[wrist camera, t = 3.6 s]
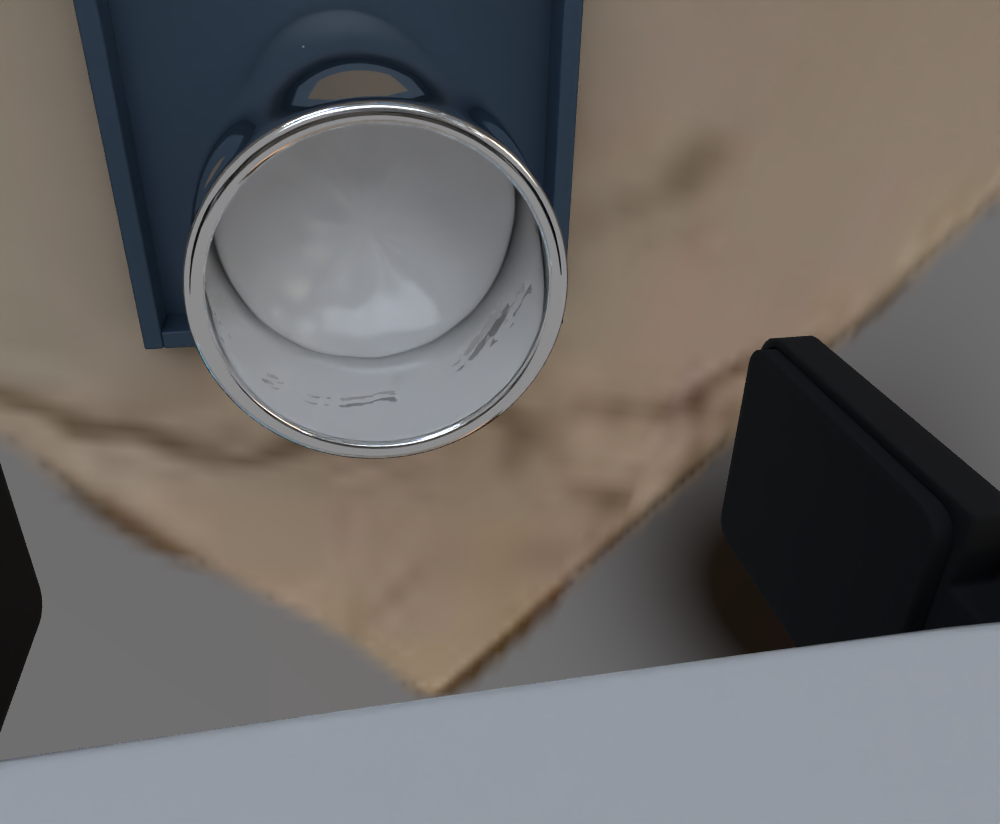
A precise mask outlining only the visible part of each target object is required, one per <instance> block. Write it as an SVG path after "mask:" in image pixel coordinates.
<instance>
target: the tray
mask: <svg viewBox="0 0 1000 824" xmlns="http://www.w3.org/2000/svg"><path fill="white" fill-rule="evenodd" d="M73 2H74V7H75V11H76V16H77V21H78V26H79V31H80V36H81V41H82V45H83V50H84V55H85V60H86V65H87V70H88V75H89V79H90V84H91V89H92V94H93V99H94V104H95V109H96V113H97V118H98V123H99V128H100V133H101V138H102V143H103V147H104V152H105V157H106V162H107V167H108V172H109V177H110V181H111V186H112V191H113V196H114V201H115V206H116V211H117V215H118V220H119V225H120V230H121V235H122V240H123V245H124V249H125V254H126V259H127V264H128V269H129V274H130V279H131V283H132V288H133V293H134V298H135V303H136V308H137V313H138V317H139V322H140V327H141V332H142V337H143V342H144V347H145V349H159V348H163V347H165V348H176V347H192V346H196V345H195V342H194V340H193V337H192V334H191V331H190V328H189V324H188V320H187V316H186V311H185V305H184V296H183V266H184V257H185V252H186V246H187V242H188V234H189V223H190V213H191V205H192V198H193V192H194V188H195V184H196V180H197V176H198V172H199V168H200V164H201V161H202V157H203V154H204V152H205V149H206V147H207V144H208V142H209V140H210V138H211V136H212V134H213V132H214V130H215V128H216V126H217V124H218V122H219V121H220V119H221V117H222V115H223V113H224V112H225V110H226V109H227V107H228V105H229V104H230V103H231V101H232V100H233V99H234V97H235V96H236V95H237V94H238V92H239V91H240V90H241V89H242V88H243V87H244V86H245V85H246V84H247V83H248V82H249V80H250V76H251V73H252V70H253V67H254V65H255V63H256V61H257V59H258V57H259V55H260V54H261V52H262V50H263V49H264V48H265V46H266V45H267V44H268V42H269V41H270V40H271V39H272V38H273V37H274V36H275V35H276V34H277V33H278V32H279V31H280V30H281V29H283V28H284V27H285V26H286V25H288V24H289V23H291V22H293V21H294V20H296V19H298V18H300V17H302V16H305V15H307V14H310V13H313V12H317V11H321V10H327V9H353V10H359V11H363V12H367V13H371V14H373V15H376V16H379V17H381V18H383V19H385V20H387V21H389V22H390V23H392V24H394V25H395V26H397V27H398V28H400V29H401V30H402V31H404V32H405V33H406V34H407V35H408V36H409V37H410V38H411V39H412V40H413V41H414V42H415V43H416V44H417V45H418V46H419V47H420V49H421V50H422V51H423V53H424V54H425V55H427V56H429V57H431V58H433V59H435V60H436V61H438V62H440V63H442V64H443V65H445V66H446V67H448V68H449V69H450V70H452V71H453V72H455V73H456V74H457V75H458V76H459V77H461V78H462V79H463V80H464V81H465V82H466V83H467V84H468V85H470V86H471V87H472V88H473V89H474V90H475V91H476V92H477V93H478V94H479V95H480V96H481V97H482V98H483V99H484V100H485V101H486V102H487V103H488V104H489V105H490V106H491V107H492V109H493V110H494V111H495V112H496V114H497V115H498V116H499V118H500V119H501V120H502V122H503V123H504V125H505V126H506V128H507V129H508V130H509V132H510V133H511V135H512V136H513V138H514V139H515V141H516V142H517V144H518V146H519V147H520V149H521V151H522V153H523V155H524V157H525V159H526V161H527V163H528V165H529V166H530V168H531V170H532V172H533V174H534V177H535V179H536V180H537V182H538V183H539V185H540V186H541V188H542V190H543V191H544V193H545V195H546V196H547V198H548V200H549V202H550V204H551V206H552V208H553V210H554V213H555V215H556V218H557V220H558V223H559V226H560V229H561V233H562V236H563V240H564V245H565V250H566V257H567V250H568V234H569V218H570V203H571V187H572V171H573V156H574V140H575V124H576V109H577V93H578V78H579V62H580V46H581V31H582V15H583V0H73ZM562 323H563V320H562Z"/></svg>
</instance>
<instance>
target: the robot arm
mask: <svg viewBox="0 0 1000 824" xmlns="http://www.w3.org/2000/svg"><path fill="white" fill-rule="evenodd" d="M721 524H722V531H723V534H724V537H725V540H726V541H727V543H728V545H729V546H730V548H731V549H732V551H733V552H734V554H735V555H736V557H737V558H738V560H739V561H740V563H741V564H742V566H743V567H744V569H745V570H746V572H747V573H748V575H749V576H750V578H751V579H752V581H753V582H754V584H755V585H756V587H757V588H758V590H759V591H760V593H761V594H762V596H763V597H764V599H765V600H766V602H767V603H768V605H769V606H770V607H771V609H772V611H773V612H774V614H775V615H776V616H777V618H778V620H779V621H780V622H781V624H782V626H783V627H784V628H785V630H786V632H787V633H788V634H789V636H790V638H791V639H792V640H793V642H794V643H795V645H796V646H797V648H789V649H782V650H774V651H767V652H759V653H752V654H744V655H737V656H730V657H722V658H715V659H708V660H701V661H693V662H686V663H679V664H672V665H665V666H657V667H650V668H643V669H636V670H628V671H621V672H614V673H606V674H599V675H592V676H585V677H578V678H570V679H563V680H557V681H549V682H542V683H534V684H528V685H521V686H514V687H506V688H499V689H492V690H485V691H478V692H471V693H463V694H456V695H449V696H442V697H435V698H428V699H421V700H414V701H407V702H400V703H394V704H386V705H380V706H372V707H365V708H358V709H351V710H345V711H337V712H331V713H323V714H316V715H309V716H302V717H295V718H288V719H281V720H274V721H266V722H260V723H253V724H245V725H239V726H232V727H226V728H218V729H212V730H205V731H198V732H191V733H184V734H177V735H171V736H163V737H156V738H150V739H143V740H137V741H129V742H122V743H116V744H108V745H102V746H95V747H88V748H81V749H74V750H67V751H60V752H53V753H46V754H40V755H33V756H26V757H19V758H13V759H5V760H0V824H1000V491H998V490H997V489H996V488H995V487H994V486H992V485H991V484H990V483H989V482H988V481H987V480H985V479H984V478H983V477H982V476H980V475H979V474H978V473H977V472H976V471H974V470H973V469H972V468H971V467H970V466H969V465H967V464H966V463H965V462H964V461H963V460H962V459H960V458H959V457H958V456H957V455H956V454H954V453H953V452H952V451H951V450H950V449H948V448H947V447H946V446H945V445H944V444H942V443H941V442H940V441H939V440H938V439H937V438H935V437H934V436H933V435H932V434H931V433H929V432H928V431H927V430H926V429H925V428H923V427H922V426H921V425H920V424H919V423H917V422H916V421H915V420H914V419H913V418H911V417H910V416H909V415H908V414H907V413H906V412H904V411H903V410H902V409H900V407H898V406H897V405H896V404H895V403H894V402H892V401H891V400H890V399H889V398H888V397H886V396H885V395H884V394H883V393H882V392H880V391H879V390H878V389H877V388H875V386H873V385H872V384H871V383H870V382H869V381H867V380H866V379H865V378H864V377H863V376H861V375H860V374H859V373H858V372H856V370H854V369H853V368H852V367H851V366H850V365H848V364H847V363H846V362H845V361H843V360H842V359H841V358H840V357H839V356H838V355H836V354H835V353H834V352H833V351H832V350H830V349H829V348H828V347H827V346H826V345H825V344H823V343H822V342H821V341H820V340H819V339H817V338H816V337H814V336H800V337H786V338H772V339H769V340H767V341H766V342H765V344H764V345H763V347H762V349H761V350H756V351H755V352H754V353H753V354H752V356H751V358H750V362H749V366H748V372H747V377H746V383H745V388H744V394H743V399H742V405H741V410H740V416H739V421H738V426H737V432H736V437H735V443H734V448H733V454H732V459H731V465H730V471H729V476H728V481H727V487H726V492H725V498H724V504H723V509H722V516H721ZM41 613H42V596H41V591H40V587H39V583H38V580H37V577H36V574H35V571H34V568H33V565H32V562H31V558H30V555H29V552H28V549H27V546H26V543H25V540H24V536H23V533H22V530H21V527H20V524H19V521H18V517H17V514H16V511H15V508H14V505H13V502H12V499H11V496H10V492H9V490H8V486H7V483H6V480H5V477H4V473H3V471H2V468H1V464H0V731H1V729H2V726H3V723H4V720H5V717H6V715H7V712H8V709H9V706H10V703H11V701H12V698H13V695H14V692H15V690H16V687H17V684H18V681H19V678H20V676H21V673H22V670H23V667H24V664H25V662H26V659H27V656H28V653H29V651H30V648H31V645H32V642H33V639H34V636H35V634H36V631H37V628H38V625H39V623H40V619H41Z"/></svg>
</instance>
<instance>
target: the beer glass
mask: <svg viewBox="0 0 1000 824" xmlns="http://www.w3.org/2000/svg"><path fill="white" fill-rule="evenodd" d="M567 289H568V268H567V257H566V250H565V245H564V240H563V236H562V233H561V229H560V226H559V223H558V220H557V218H556V215H555V213H554V210H553V208H552V206H551V204H550V202H549V200H548V198H547V196H546V195H545V193H544V191H543V190H542V188H541V186H540V185H539V183H538V182H537V180H536V179H535V177H534V174H533V172H532V170H531V168H530V166H529V165H528V163H527V161H526V159H525V157H524V155H523V153H522V151H521V149H520V147H519V146H518V144H517V142H516V141H515V139H514V138H513V136H512V135H511V133H510V132H509V130H508V129H507V128H506V126H505V125H504V123H503V122H502V120H501V119H500V118H499V116H498V115H497V114H496V112H495V111H494V110H493V109H492V107H491V106H490V105H489V104H488V103H487V102H486V101H485V100H484V99H483V98H482V97H481V96H480V95H479V94H478V93H477V92H476V91H475V90H474V89H473V88H472V87H471V86H470V85H468V84H467V83H466V82H465V81H464V80H463V79H462V78H461V77H459V76H458V75H457V74H456V73H455V72H453V71H452V70H450V69H449V68H448V67H446V66H445V65H443V64H442V63H440V62H438V61H436V60H435V59H433V58H431V57H429V56H427V55H425V54H424V53H423V51H422V50H421V49H420V47H419V46H418V45H417V44H416V43H415V42H414V41H413V40H412V39H411V38H410V37H409V36H408V35H407V34H406V33H405V32H404V31H402V30H401V29H400V28H398V27H397V26H395V25H394V24H392V23H390V22H389V21H387V20H385V19H383V18H381V17H379V16H376V15H373V14H371V13H367V12H363V11H359V10H353V9H327V10H321V11H317V12H313V13H310V14H307V15H305V16H302V17H300V18H298V19H296V20H294V21H293V22H291V23H289V24H288V25H286V26H285V27H284V28H283V29H281V30H280V31H279V32H278V33H277V34H276V35H275V36H274V37H273V38H272V39H271V40H270V41H269V42H268V44H267V45H266V46H265V48H264V49H263V50H262V52H261V54H260V55H259V57H258V59H257V61H256V63H255V65H254V67H253V70H252V73H251V76H250V80H249V82H248V83H247V84H246V85H245V86H244V87H243V88H242V89H241V90H240V91H239V92H238V94H237V95H236V96H235V97H234V99H233V100H232V101H231V103H230V104H229V105H228V107H227V109H226V110H225V112H224V113H223V115H222V117H221V119H220V121H219V122H218V124H217V126H216V128H215V130H214V132H213V134H212V136H211V138H210V140H209V142H208V144H207V147H206V149H205V152H204V154H203V157H202V161H201V164H200V168H199V172H198V176H197V180H196V184H195V188H194V192H193V198H192V205H191V213H190V223H189V234H188V242H187V246H186V252H185V257H184V266H183V296H184V305H185V311H186V316H187V320H188V324H189V328H190V331H191V334H192V337H193V340H194V342H195V345H196V347H197V350H198V352H199V354H200V356H201V358H202V360H203V362H204V364H205V365H206V367H207V369H208V370H209V372H210V374H211V375H212V377H213V378H214V379H215V381H216V382H217V384H218V385H219V386H220V387H221V389H222V390H223V391H224V392H225V393H226V394H227V396H228V397H229V398H230V399H231V400H232V401H233V402H234V403H235V404H236V405H237V406H238V407H239V408H240V409H241V410H243V411H244V412H245V413H246V414H247V415H249V416H250V417H251V418H252V419H254V420H255V421H256V422H258V423H259V424H261V425H262V426H264V427H265V428H267V429H269V430H270V431H272V432H274V433H275V434H277V435H279V436H281V437H283V438H285V439H287V440H289V441H291V442H294V443H296V444H299V445H301V446H304V447H307V448H310V449H313V450H316V451H320V452H323V453H328V454H332V455H338V456H344V457H352V458H366V459H381V458H395V457H403V456H410V455H415V454H419V453H424V452H427V451H431V450H435V449H438V448H441V447H443V446H446V445H449V444H451V443H454V442H456V441H458V440H460V439H463V438H465V437H467V436H469V435H470V434H472V433H474V432H476V431H478V430H479V429H481V428H482V427H484V426H486V425H487V424H489V423H490V422H491V421H493V420H494V419H496V418H497V417H498V416H499V415H501V414H502V413H503V412H504V411H506V410H507V409H508V408H509V407H510V406H511V405H512V404H513V403H514V402H515V401H516V400H517V399H518V398H519V397H520V396H521V395H522V394H523V393H524V392H525V390H526V389H527V388H528V387H529V386H530V384H531V383H532V382H533V381H534V379H535V378H536V376H537V375H538V373H539V372H540V370H541V369H542V367H543V366H544V364H545V362H546V360H547V359H548V357H549V355H550V353H551V351H552V348H553V346H554V344H555V341H556V339H557V336H558V334H559V331H560V327H561V324H562V320H563V316H564V311H565V306H566V299H567Z"/></svg>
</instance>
